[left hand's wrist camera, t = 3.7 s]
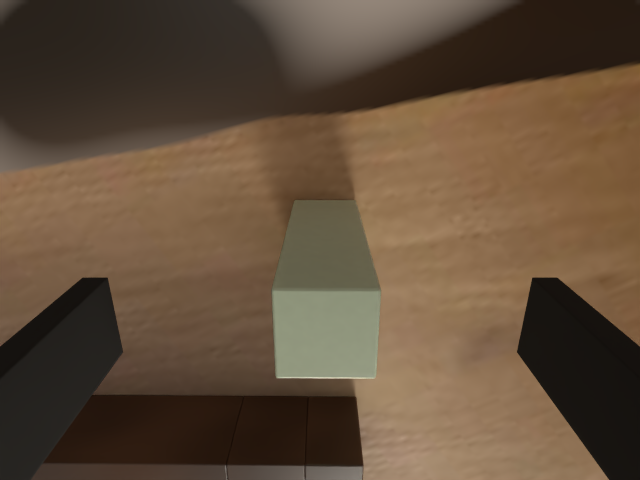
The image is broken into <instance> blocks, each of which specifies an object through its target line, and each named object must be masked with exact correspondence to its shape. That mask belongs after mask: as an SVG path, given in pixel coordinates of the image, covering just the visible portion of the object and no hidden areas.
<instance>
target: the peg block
mask: <svg viewBox="0 0 640 480" xmlns="http://www.w3.org/2000/svg"><path fill="white" fill-rule="evenodd" d="M31 480H363V457H362V447H361V437H360V428H359V418H358V409H357V399H356V397H294V396H244V397H243V396H115V395H92V396H91V397H90V398H89V400H88V401H87V403H86V404H85V405H84V407H83V408H82V410H81V411H80V412H79V414H78V415H77V416H76V418H75V419H74V421H73V422H72V423H71V425H70V426H69V428H68V429H67V430H66V432H65V433H64V434H63V436H62V437H61V439H60V440H59V441H58V443H57V444H56V446H55V447H54V448H53V450H52V451H51V452H50V454H49V455H48V457H47V458H46V459H45V461H44V462H43V463H42V465H41V466H40V468H39V469H38V470H37V472H36V473H35V475H34V476H33V477H32V479H31Z"/></svg>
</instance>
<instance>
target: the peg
mask: <svg viewBox="0 0 640 480" xmlns="http://www.w3.org/2000/svg"><path fill="white" fill-rule="evenodd" d="M271 294H272V316H273V338H274V359H275V376H276V377H277V378H366V379H373V378H375V377H376V370H377V353H378V335H379V318H380V301H381V288H380V285H379V281H378V278H377V274H376V270H375V267H374V263H373V260H372V256H371V253H370V249H369V246H368V242H367V238H366V235H365V231H364V228H363V224H362V221H361V217H360V214H359V210H358V206H357V203H356V200H294V203H293V207H292V211H291V215H290V219H289V223H288V227H287V231H286V235H285V238H284V242H283V246H282V250H281V254H280V258H279V262H278V266H277V270H276V274H275V278H274V281H273V285H272V289H271Z"/></svg>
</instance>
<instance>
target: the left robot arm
mask: <svg viewBox="0 0 640 480" xmlns="http://www.w3.org/2000/svg"><path fill="white" fill-rule="evenodd" d="M122 353H123V350H122V345H121V340H120V335H119V331H118V326H117V321H116V316H115V311H114V306H113V302H112V297H111V292H110V287H109V282H108V278H82V279H81V280H79V281H78V282H77V283H76V284H75V285H73V286H72V287H71V288H70V289H69V290H67V291H66V292H65V293H64V294H63V295H61V296H60V297H59V298H58V299H57V300H55V301H54V302H53V303H52V304H51V305H50V306H48V307H47V308H46V309H45V310H44V311H42V312H41V313H40V314H39V315H38V316H36V317H35V318H34V319H33V320H32V321H30V322H29V323H28V324H27V325H26V326H24V327H23V328H22V329H21V330H20V331H18V332H17V333H16V334H15V335H14V336H12V337H11V338H10V339H9V340H8V341H6V342H5V343H4V344H3V345H2V346H0V480H31V479H32V477H33V476H34V475H35V473H36V472H37V470H38V469H39V468H40V466H41V465H42V463H43V462H44V461H45V459H46V458H47V457H48V455H49V454H50V452H51V451H52V450H53V448H54V447H55V446H56V444H57V443H58V441H59V440H60V439H61V437H62V436H63V434H64V433H65V432H66V430H67V429H68V428H69V426H70V425H71V423H72V422H73V421H74V419H75V418H76V416H77V415H78V414H79V412H80V411H81V410H82V408H83V407H84V405H85V404H86V403H87V401H88V400H89V398H90V397H91V396H92V394H93V393H94V392H95V390H96V389H97V387H98V386H99V385H100V383H101V382H102V380H103V379H104V378H105V376H106V375H107V374H108V372H109V371H110V369H111V368H112V367H113V365H114V364H115V362H116V361H117V360H118V358H119V357H120V356H121V354H122ZM517 353H518V354H519V356H520V357H521V358H522V360H523V361H524V362H525V364H526V365H527V367H528V368H529V369H530V371H531V372H532V374H533V375H534V376H535V378H536V379H537V380H538V382H539V383H540V385H541V386H542V387H543V389H544V390H545V392H546V393H547V394H548V396H549V397H550V398H551V400H552V401H553V403H554V404H555V405H556V407H557V408H558V410H559V411H560V412H561V414H562V415H563V416H564V418H565V419H566V421H567V422H568V423H569V425H570V426H571V428H572V429H573V430H574V432H575V433H576V434H577V436H578V437H579V439H580V440H581V441H582V443H583V444H584V446H585V447H586V448H587V450H588V451H589V452H590V454H591V455H592V457H593V458H594V459H595V461H596V462H597V463H598V465H599V466H600V468H601V469H602V470H603V472H604V473H605V475H606V476H607V477H608V479H609V480H640V346H638V345H637V344H636V343H635V342H634V341H632V340H631V339H630V338H629V337H628V336H626V335H625V334H624V333H623V332H622V331H620V330H619V329H618V328H617V327H616V326H614V325H613V324H612V323H611V322H610V321H608V320H607V319H606V318H605V317H604V316H602V315H601V314H600V313H599V312H598V311H596V310H595V309H594V308H593V307H592V306H590V305H589V304H588V303H587V302H586V301H585V300H583V299H582V298H581V297H580V296H579V295H577V294H576V293H575V292H574V291H573V290H571V289H570V288H569V287H568V286H567V285H565V284H564V283H563V282H562V281H561V280H559V279H558V278H532V282H531V287H530V292H529V297H528V302H527V306H526V311H525V316H524V321H523V326H522V331H521V335H520V340H519V345H518V350H517Z"/></svg>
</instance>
